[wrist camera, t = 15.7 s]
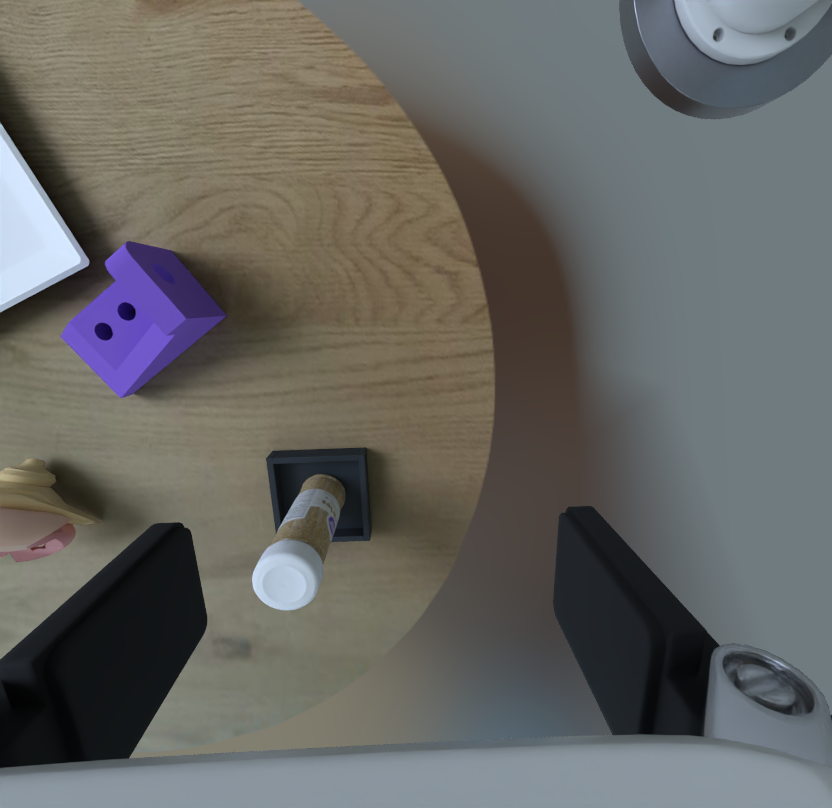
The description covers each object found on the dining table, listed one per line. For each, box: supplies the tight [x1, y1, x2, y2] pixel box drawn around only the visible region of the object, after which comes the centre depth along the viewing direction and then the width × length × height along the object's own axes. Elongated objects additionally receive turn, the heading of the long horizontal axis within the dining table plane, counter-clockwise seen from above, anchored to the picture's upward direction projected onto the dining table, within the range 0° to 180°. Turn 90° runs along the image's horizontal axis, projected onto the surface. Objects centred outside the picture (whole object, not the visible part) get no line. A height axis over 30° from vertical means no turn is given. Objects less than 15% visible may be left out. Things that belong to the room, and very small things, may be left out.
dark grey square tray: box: [266, 448, 371, 542], centre depth 39 cm, size 9×9×2 cm
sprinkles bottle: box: [252, 474, 346, 610], centre depth 33 cm, size 5×5×14 cm
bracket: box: [61, 241, 227, 398], centre depth 32 cm, size 12×7×7 cm, turn 127°
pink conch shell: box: [0, 458, 102, 562], centre depth 37 cm, size 9×10×10 cm
